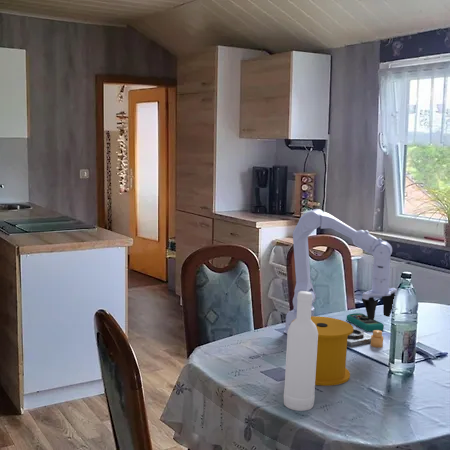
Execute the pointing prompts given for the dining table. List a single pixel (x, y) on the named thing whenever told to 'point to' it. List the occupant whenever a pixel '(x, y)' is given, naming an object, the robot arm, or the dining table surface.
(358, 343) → the junction plate
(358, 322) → the digital multimeter
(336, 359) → the spool
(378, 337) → the orange rounded knob
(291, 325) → the bottle
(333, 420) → the dining table surface
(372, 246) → the robot arm
